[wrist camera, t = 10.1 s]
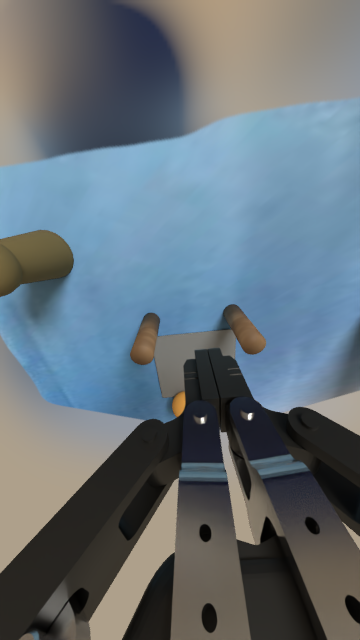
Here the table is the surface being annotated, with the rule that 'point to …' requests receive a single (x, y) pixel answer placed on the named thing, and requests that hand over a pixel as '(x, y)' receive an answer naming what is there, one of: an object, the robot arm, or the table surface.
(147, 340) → the post
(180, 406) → the ball
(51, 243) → the brown pawn
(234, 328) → the post
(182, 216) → the table surface
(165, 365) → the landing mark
